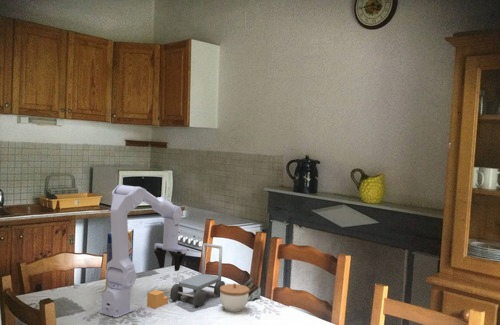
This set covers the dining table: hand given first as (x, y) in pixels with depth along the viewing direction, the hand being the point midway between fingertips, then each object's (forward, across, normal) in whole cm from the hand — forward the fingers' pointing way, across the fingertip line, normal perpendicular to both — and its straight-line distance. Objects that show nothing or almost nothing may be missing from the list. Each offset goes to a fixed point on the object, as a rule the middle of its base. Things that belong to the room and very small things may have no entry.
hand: (169, 269), depth 187 cm
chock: (+10, -5, +13) cm, 17 cm away
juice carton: (+10, +17, +10) cm, 22 cm away
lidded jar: (+10, -30, 0) cm, 32 cm away
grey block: (+10, -29, -14) cm, 34 cm away
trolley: (+10, -13, -4) cm, 16 cm away
